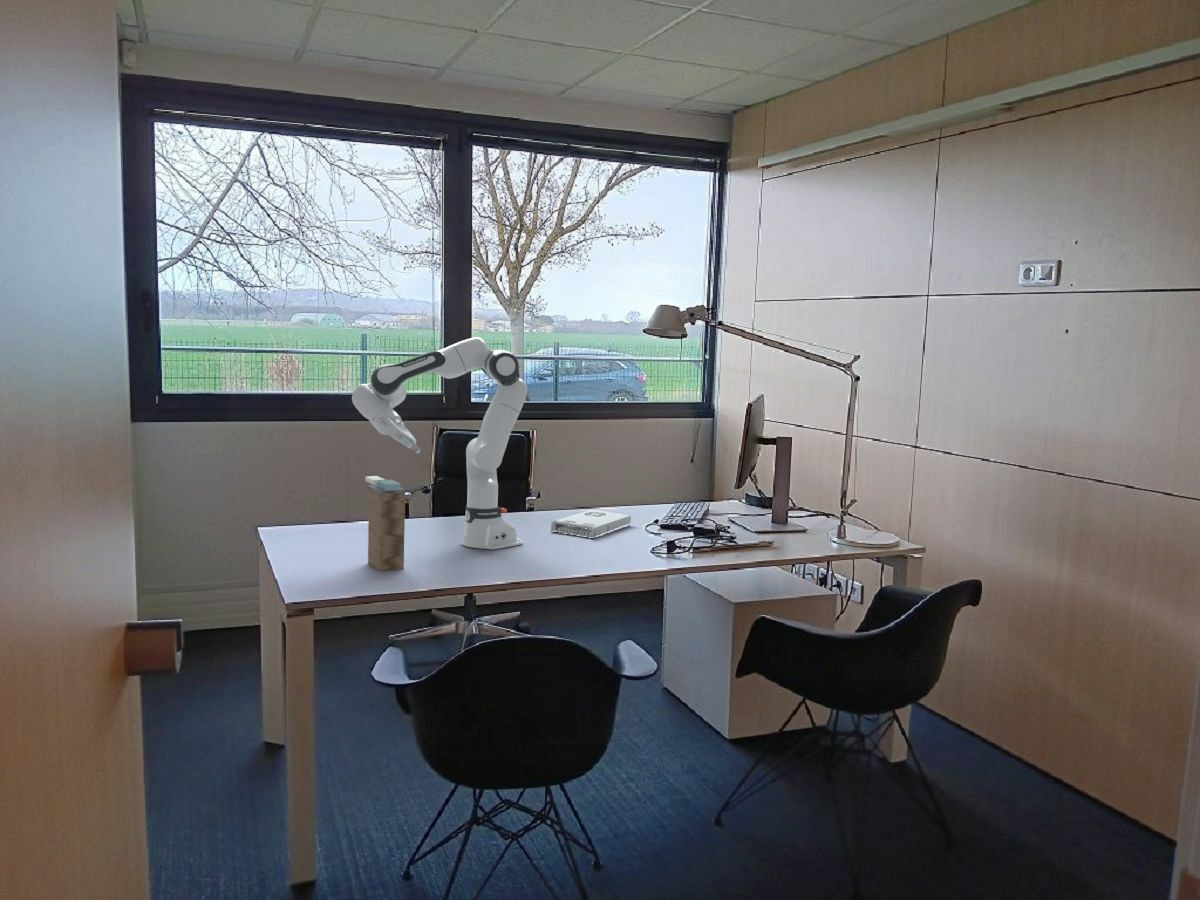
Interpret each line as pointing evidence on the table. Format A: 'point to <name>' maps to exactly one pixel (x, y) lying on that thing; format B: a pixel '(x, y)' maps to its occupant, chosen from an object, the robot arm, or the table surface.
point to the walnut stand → (386, 528)
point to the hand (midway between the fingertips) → (414, 449)
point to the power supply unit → (590, 523)
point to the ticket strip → (383, 483)
